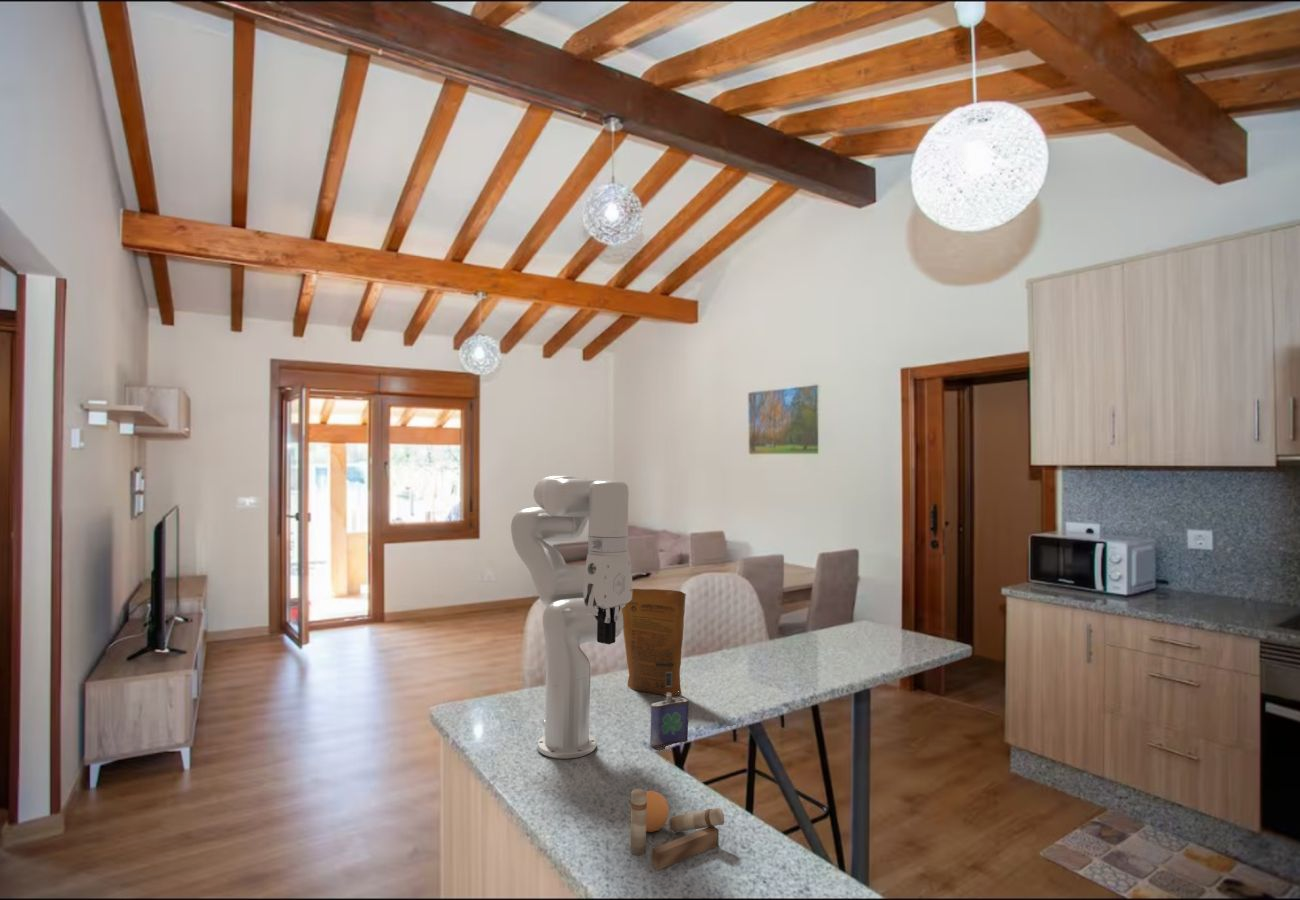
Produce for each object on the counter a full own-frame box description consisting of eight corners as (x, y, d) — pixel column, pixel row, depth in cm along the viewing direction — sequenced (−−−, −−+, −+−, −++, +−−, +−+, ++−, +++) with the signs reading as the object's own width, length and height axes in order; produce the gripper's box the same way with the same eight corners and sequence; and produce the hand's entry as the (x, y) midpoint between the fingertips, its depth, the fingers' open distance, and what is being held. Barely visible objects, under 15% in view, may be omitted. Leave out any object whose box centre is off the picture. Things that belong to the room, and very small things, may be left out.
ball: (668, 817, 107) (656, 846, 108) (677, 793, 113) (665, 821, 114) (634, 799, 108) (623, 828, 110) (645, 777, 114) (634, 804, 115)
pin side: (627, 849, 105) (628, 791, 105) (640, 844, 107) (641, 787, 107) (635, 856, 103) (636, 797, 103) (649, 851, 105) (650, 793, 105)
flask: (653, 748, 144) (654, 698, 144) (647, 743, 146) (648, 694, 147) (690, 741, 148) (690, 692, 148) (683, 736, 151) (684, 688, 151)
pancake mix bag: (679, 700, 174) (680, 593, 175) (615, 689, 183) (617, 586, 184) (689, 693, 180) (690, 589, 181) (627, 682, 189) (629, 583, 190)
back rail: (657, 870, 100) (658, 853, 100) (651, 865, 101) (652, 848, 101) (718, 845, 107) (718, 829, 107) (712, 841, 108) (712, 825, 108)
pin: (672, 812, 112) (719, 803, 108) (679, 825, 112) (726, 817, 108) (667, 823, 110) (714, 815, 106) (674, 836, 110) (721, 828, 106)
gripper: (599, 550, 119) (597, 654, 118) (646, 543, 131) (644, 637, 131) (567, 547, 123) (565, 647, 122) (615, 541, 136) (613, 632, 135)
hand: (606, 642), depth 127 cm, fingers closed
